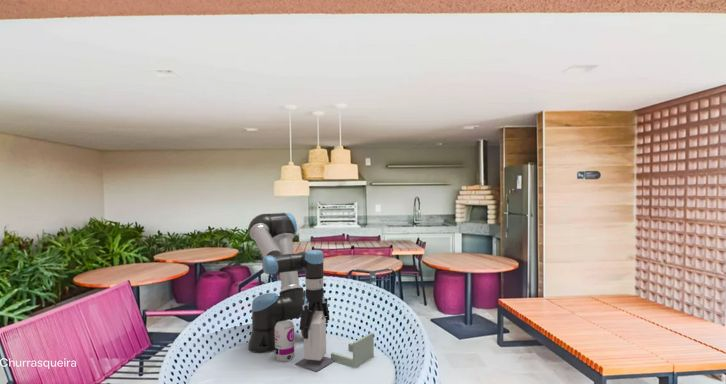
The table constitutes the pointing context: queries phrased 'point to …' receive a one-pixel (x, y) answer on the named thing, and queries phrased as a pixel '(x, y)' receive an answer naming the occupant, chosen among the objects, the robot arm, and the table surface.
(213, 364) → the table surface
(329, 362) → the mat
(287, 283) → the robot arm
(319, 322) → the milk carton
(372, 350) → the rack
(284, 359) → the supplement can
